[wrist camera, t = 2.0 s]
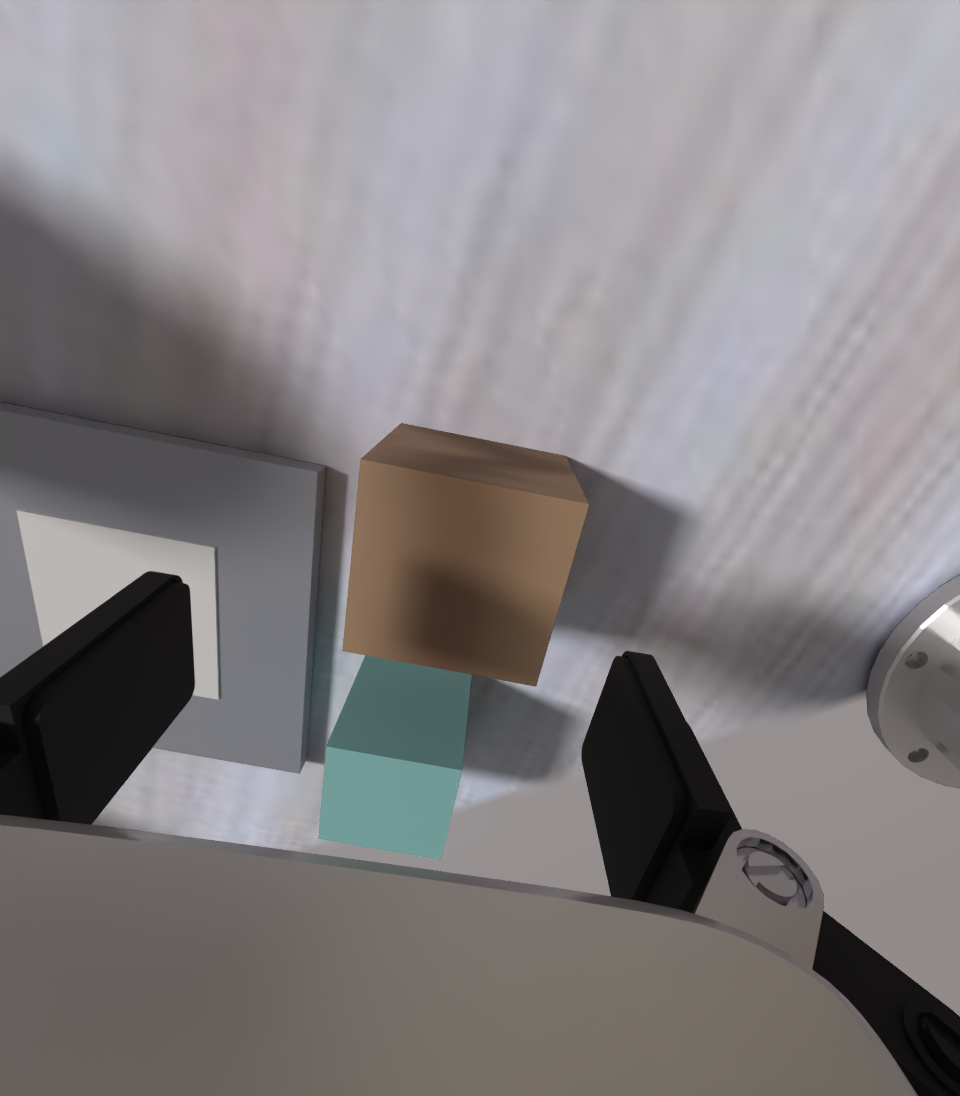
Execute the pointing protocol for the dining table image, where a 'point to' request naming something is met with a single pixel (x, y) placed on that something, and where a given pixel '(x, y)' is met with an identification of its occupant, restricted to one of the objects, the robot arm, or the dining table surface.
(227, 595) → the plate
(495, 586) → the walnut cube
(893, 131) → the dining table surface
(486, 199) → the dining table surface
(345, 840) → the teal block
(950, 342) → the dining table surface
